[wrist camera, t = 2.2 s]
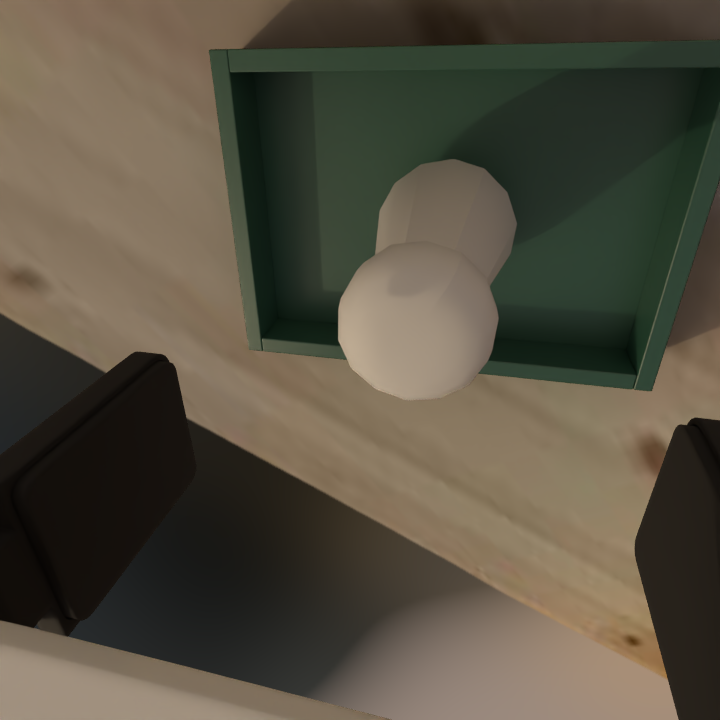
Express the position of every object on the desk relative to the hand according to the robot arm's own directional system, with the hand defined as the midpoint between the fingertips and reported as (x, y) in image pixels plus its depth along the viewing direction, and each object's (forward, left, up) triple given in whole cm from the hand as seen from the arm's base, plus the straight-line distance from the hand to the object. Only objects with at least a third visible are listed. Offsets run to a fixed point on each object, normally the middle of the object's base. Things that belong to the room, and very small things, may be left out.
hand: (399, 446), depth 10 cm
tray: (0, 0, -17) cm, 17 cm away
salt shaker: (0, 0, -17) cm, 17 cm away
